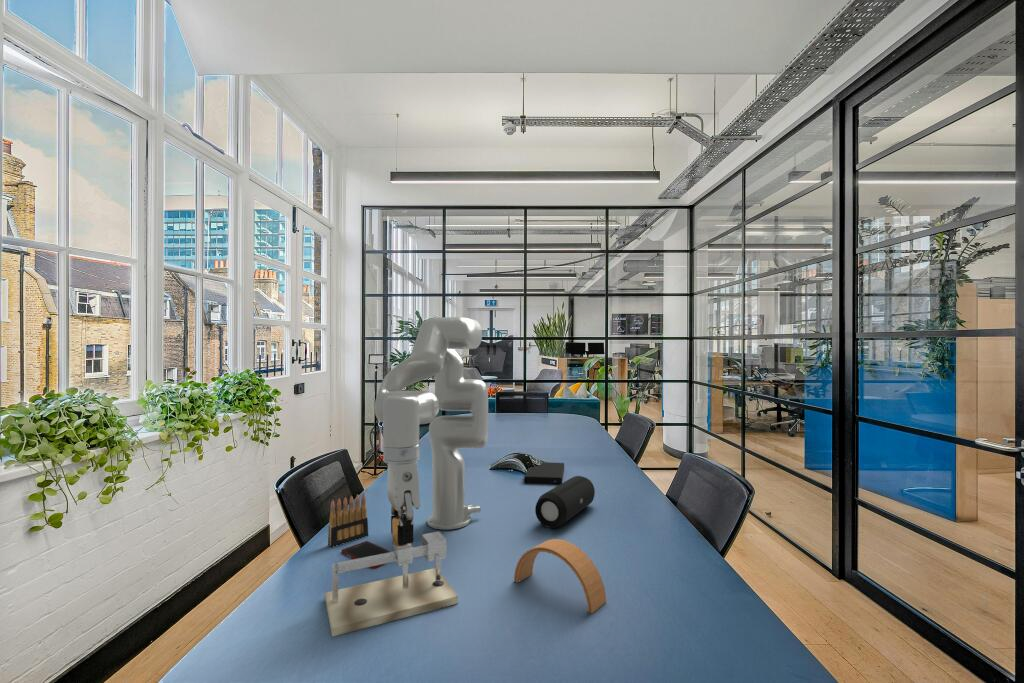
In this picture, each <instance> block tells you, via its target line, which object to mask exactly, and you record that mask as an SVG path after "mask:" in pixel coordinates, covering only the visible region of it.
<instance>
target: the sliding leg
mask: <svg viewBox="0 0 1024 683" xmlns="http://www.w3.org/2000/svg"><path fill="white" fill-rule="evenodd" d="M403 516H404V515H402V519H403ZM398 525H399V516H396V517H394V518H393V519H392V534H391V536H392V537H391V538H392V542H391V543H392V548H393V551H395V552H396V553H397V561H396V562H397V564H396V565H397V566H400V567H401V566H402V575H403V589H408V587H409V574H410V573H409V565H410V564H413V559H414V558H413V548H414V547H413V546H412V544H413V543H410V544H405V545H398Z"/></svg>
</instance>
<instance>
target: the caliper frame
mask: <svg viewBox="0 0 1024 683" xmlns="http://www.w3.org/2000/svg"><path fill="white" fill-rule="evenodd" d="M412 548H413V559H414V558H418V557H423V556H424V557H425V560H426V561H427V562H433V561H434V568H435V580H436V581H437V582H439V581H440V580H441V574H442V560H443V559H447V538H446V537H445V536H444V535H443V534H442V532H440V531H434V532H430V533H429V532H428V533H424V534H423V533H422V534H421V545H420V546H416V547H415V546H413V547H412ZM394 562H397V553H396V552H395V550H393V551H390V552H389V553H384V554H379V555H374V556H369V557H364V558H359V559H350V560H349V559H348V560H344V561H339V562H335V563H331V591H332V602H333V603H338V590H339V574H340V573H341V574H342V573H347V572H351V571H357V570H360V569H366V568H369V567H371V566H376V565H381V564H384V565H386V564H391V563H394ZM385 563H386V564H385Z"/></svg>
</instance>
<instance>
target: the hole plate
mask: <svg viewBox="0 0 1024 683" xmlns="http://www.w3.org/2000/svg"><path fill="white" fill-rule="evenodd" d="M458 599H459V596H458V594H457V593H456V592H455V590H454V589H453V588H452V586H451V585H450V583H449V582H448V581H447V580H446V578H445V577H444V575H443V574H442V573H441V580H440V581H439V582H437V581H436V580H435V567H434V568H430V569H425V570H421V571H417V572H412V573H409V587H408V589H403V574H401V575H398V576H394V577H389V578H385V579H381V580H375V581H370V582H367V583H362V584H358V585H353V586H349V587H345V588H340V589H339V588H338V603H333V602H332V590H330V591H327V592H324V603H325V607H326V612H327V617H328V621H329V622H328V623H329V627H330V632H331V637H336V636H340V635H342V634H343V635H344V634H347V633H351V632H355V631H359V630H362V629H367V628H370V627H373V626H378V625H382V624H385V623H390V622H392V621H397V620H400V619H404V618H408V617H412V616H415V615H419V614H423V613H427V612H431V611H434V610H438V609H443V608H446V606H447V607H450V606H453V605H458V604H459V602H458V601H459V600H458ZM457 603H458V604H457ZM442 607H443V608H442Z"/></svg>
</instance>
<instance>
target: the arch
mask: <svg viewBox="0 0 1024 683" xmlns="http://www.w3.org/2000/svg"><path fill="white" fill-rule="evenodd" d="M539 553H548V554H551V555H553V556H556V557H557V558H559V559H560V560H561V561H563V562H564V563H565V564H566V565H567V566H568V567H569V568H570V569H571V570H572V572H573V573H574V574H575V576H576V577H577V579H578V580H579V583H580V585H581V588H582V589H583V593H584V596H585V598H586V604H587V612H588V613H590V614H593V613H595V612H596V611H597V610H599V608H600V607H602V606H603V605H605V604H606V603H607V594H606V589H605V585H604V582H603V579H602V577H601V575H600V573H599V571H598V569H597V567H596V565H595V564H594V562H593V561H592V560H591V558H590V557H589V556H588V555H587V553H585V552H584V551H583V550H582V549H581V548H579V547H578V546H577V545H575V544H574V543H573V542H570V541H568V540H565V539H564V540H563V539H559V538H557V539H556V538H553V539H548V540H545V541H544V542H541V543H540V544H537V545H536V546H534V547H532V548H530V549H528V550H526V552H524V553H523V554H522V555H521V557H520V558H519V560H518V562H517V564H516V565H515V566H516V567H515V570H514V578H513V582H516V581H517V582H516V583H519V582H522V581H523V580H525V579H527V578H528V577H530V576H531V575H533V574H534V571H533V570H534V564H535V561H536V558H537V556H538V555H539ZM529 575H530V576H529ZM526 577H527V578H526ZM524 578H525V579H524ZM522 579H523V580H522ZM519 580H520V581H519ZM521 580H522V581H521ZM518 581H519V582H518Z"/></svg>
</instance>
